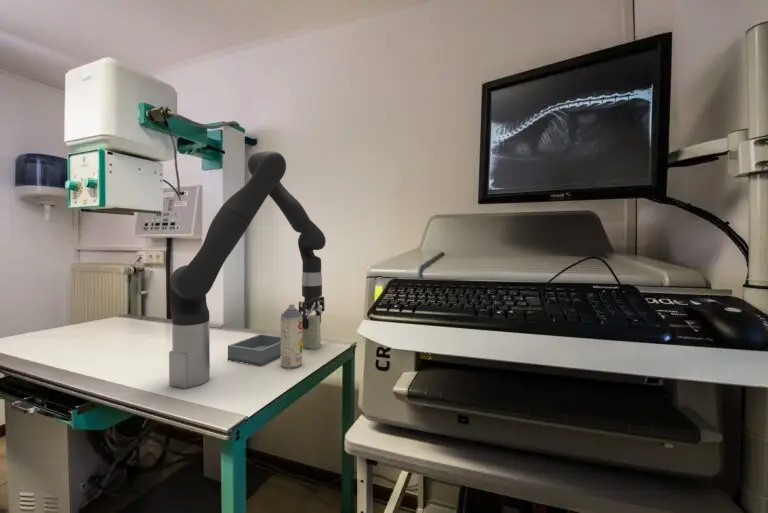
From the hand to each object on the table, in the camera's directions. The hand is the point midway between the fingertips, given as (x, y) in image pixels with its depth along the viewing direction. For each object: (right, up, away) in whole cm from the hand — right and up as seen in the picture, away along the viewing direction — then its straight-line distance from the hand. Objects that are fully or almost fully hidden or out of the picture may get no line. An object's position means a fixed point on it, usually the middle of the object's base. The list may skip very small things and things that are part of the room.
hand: (312, 325), depth 128 cm
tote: (-16, -9, -10) cm, 21 cm away
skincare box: (0, -9, 0) cm, 9 cm away
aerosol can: (-3, -9, -18) cm, 21 cm away
